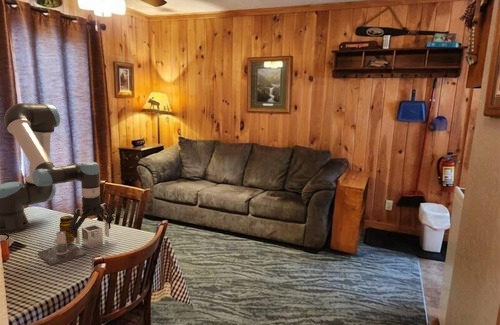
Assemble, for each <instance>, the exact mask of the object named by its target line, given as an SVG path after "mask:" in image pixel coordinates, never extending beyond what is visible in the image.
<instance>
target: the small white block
mask: <svg viewBox="0 0 500 325" xmlns="http://www.w3.org/2000/svg"><path fill="white" fill-rule="evenodd" d="M103 232H104V231H103V227H101V226H100V225H98V224H93V225H89V226H84V227H81V236H82V237H81V238H82V239H81V240H82V241H81V242H82V245H83V246H85V247H86V248H87V249H90V248H91V249H92V248H94V247H99V246H102V245H103V244H104V236H103Z"/></svg>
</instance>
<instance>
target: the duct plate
mask: <svg viewBox="0 0 500 325" xmlns="http://www.w3.org/2000/svg"><path fill="white" fill-rule="evenodd" d="M55 234H56V235H55V236H56V239H57V246H56V247H51V248H47V249H44V250H38V252H37V255H39V256H40V258H42V259H43V260H44V261H45V262H46V263H47V264H48V265H49V266H51V267H52V266H54V265H59V264H61V263H66V262H69V261H71V260H74V259H78V258H82V257H85V256H87V253H86V252H85V251H84V250H83V249H81V248H80V247H78V245H77V244H75V243H70V244H67V243H66V232H65V231H61V232H60V231H58V232H56V233H55Z"/></svg>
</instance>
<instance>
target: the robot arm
mask: <svg viewBox="0 0 500 325" xmlns="http://www.w3.org/2000/svg"><path fill="white" fill-rule="evenodd" d="M3 121H4V126H5V129H6V130H7V132H8V133H9V134H11V135H13V136H14V139H16V141H17V143H18V145H19V147H20V148H21V150H22V152H23V153H24V155H25V157H26V158H27V160H28V163H29V174H28V175H29V176H27V177H26V178H25V183H23V182H21V181H9V182H4V183H1V184H0V234H1V235H2V234H4V235H5V234H13V233H17V232H21V231H24V230H26V229H28V228H29V227H30V222H29V221H30V220H29V219H28V217H27V215H26V214H25V207H26V206H31V205H36V204H42V203H46V202H49V201H51V200H53V199H54V197H55V195H56V192H57V187H56V185H57V184H58V185H59V184H65V183H70V182H80V183H81V184H80V185H81V196H82V197H81V199H82V200H81V205H82V207H80V208H77V207H75V208H74V214H73V215H72V217H73V218H72V220H71V223H70V225H69V227H68V229H69V230H70V231H73V237H74V238H75V240H76V242H75V245H77V246H78V245H81V240H80V239H81V238H80V236H81V235H80V230H79V228H80V227H81V225H82V224H83V223H84V222H85V220H86V219H87V218H88V217H92V216H97V215H98V216H99V217H101V218H102V219H103V220H104V221H105V222H104V236H105V237H110V230H111V224H112V222H114V221H115V218H114V216H113V214H112V213H111V211H110V210H109V207H108V204H107V203H105V202H103V203H101V196H100V194H101V187H100V185H101V184H100V167H99V163H98V162H96V161H95V162H94V161H86V162H81V164H79V163H68V164H67V165H64V166H63V165H61V166H55V165H54V164H53V161H52V160H51V159H50V155H51V154H50V152H51V136H52V134H53V133H54V132H55V128H56V127H59V126H60V123H61V116H60V113H59V110H58V109H57V108H56V106H55V105H52V104H50V103H49V104H48V103H25V102H23V103H19V102H18V103H15V104H13V105H10V107H9V108H8V109H7V110H6V112H5V114H4V117H3ZM101 209H103V211H104V212H105V214H106V215H107V216H106V215H105V214H104V213H103V212H102V211H100V210H101ZM80 214H81V216H80Z"/></svg>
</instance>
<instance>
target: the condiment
mask: <svg viewBox="0 0 500 325" xmlns="http://www.w3.org/2000/svg"><path fill="white" fill-rule="evenodd" d="M72 218H73V215H72V216H71V215H64V216H61V217H59V219H60V220H59V232H61V231H65V232H66V243H67V244H70V243H73V244H76V239H75V238H74V237H73V231H70V230H69V229H68V227H69V225H70V223H71V220H72ZM54 243H55V246H56V247H57V238H56V239H54Z"/></svg>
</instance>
